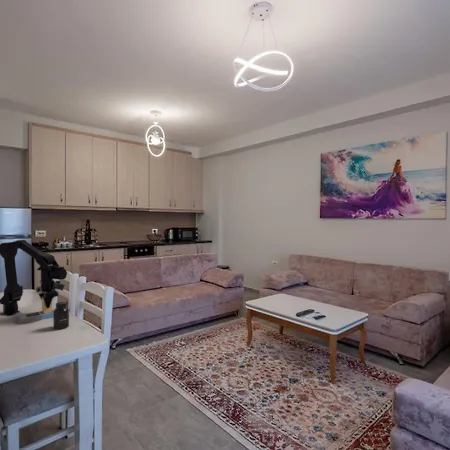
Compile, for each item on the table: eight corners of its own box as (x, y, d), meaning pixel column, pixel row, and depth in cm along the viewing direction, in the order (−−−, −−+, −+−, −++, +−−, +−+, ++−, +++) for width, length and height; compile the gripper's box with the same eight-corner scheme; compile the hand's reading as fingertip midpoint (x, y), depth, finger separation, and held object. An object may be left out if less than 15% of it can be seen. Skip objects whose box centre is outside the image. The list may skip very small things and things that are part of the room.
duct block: (20, 324, 156) (20, 319, 156) (17, 320, 162) (17, 315, 162) (62, 315, 170) (62, 310, 170) (57, 312, 176) (57, 307, 175)
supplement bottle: (62, 330, 148) (62, 305, 148) (50, 329, 150) (49, 304, 149) (72, 325, 155) (72, 301, 155) (60, 324, 156) (60, 300, 156)
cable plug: (44, 315, 166) (43, 298, 165) (41, 313, 168) (41, 297, 168) (52, 313, 168) (52, 297, 168) (50, 311, 171) (49, 295, 171)
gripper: (68, 279, 167) (68, 308, 167) (57, 274, 180) (57, 301, 181) (45, 282, 159) (45, 312, 159) (35, 276, 172) (35, 304, 173)
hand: (47, 307), depth 168 cm, fingers closed on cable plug, 4 cm apart
